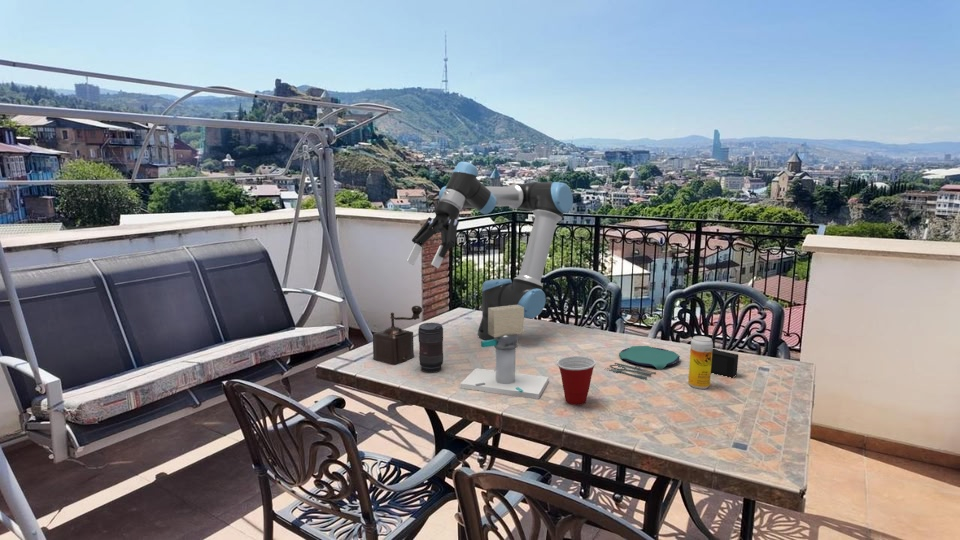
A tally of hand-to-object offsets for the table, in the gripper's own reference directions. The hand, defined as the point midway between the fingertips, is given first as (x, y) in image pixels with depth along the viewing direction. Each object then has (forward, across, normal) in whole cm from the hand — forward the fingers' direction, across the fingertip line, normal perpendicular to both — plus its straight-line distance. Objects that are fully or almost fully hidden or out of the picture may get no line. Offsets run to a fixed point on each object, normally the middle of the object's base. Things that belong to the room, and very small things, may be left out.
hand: (422, 264), depth 163 cm
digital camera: (-8, +59, +84) cm, 103 cm away
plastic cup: (+21, +44, +38) cm, 61 cm away
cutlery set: (-3, +38, +74) cm, 83 cm away
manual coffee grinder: (+28, -22, +22) cm, 41 cm away
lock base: (+23, +22, +32) cm, 45 cm away
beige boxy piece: (+14, +22, +24) cm, 35 cm away
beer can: (+1, +61, +70) cm, 93 cm away
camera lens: (+28, -4, +23) cm, 36 cm away
